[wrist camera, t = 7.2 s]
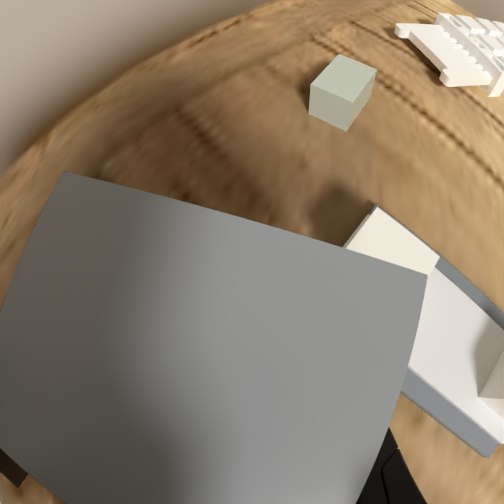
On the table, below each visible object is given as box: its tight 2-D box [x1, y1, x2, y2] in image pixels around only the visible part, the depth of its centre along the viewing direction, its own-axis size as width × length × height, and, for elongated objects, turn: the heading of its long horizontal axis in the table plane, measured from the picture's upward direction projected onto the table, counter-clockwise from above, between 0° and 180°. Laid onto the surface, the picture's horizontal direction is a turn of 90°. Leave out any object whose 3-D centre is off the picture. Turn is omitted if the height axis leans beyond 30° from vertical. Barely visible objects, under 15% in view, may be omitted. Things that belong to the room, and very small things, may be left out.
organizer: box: [394, 13, 504, 97], centre depth 29 cm, size 13×5×35 cm
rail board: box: [342, 204, 504, 459], centre depth 18 cm, size 10×21×6 cm, turn 49°
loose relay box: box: [309, 54, 377, 132], centre depth 27 cm, size 6×4×4 cm, turn 146°
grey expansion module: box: [0, 171, 428, 504], centre depth 9 cm, size 5×6×12 cm
